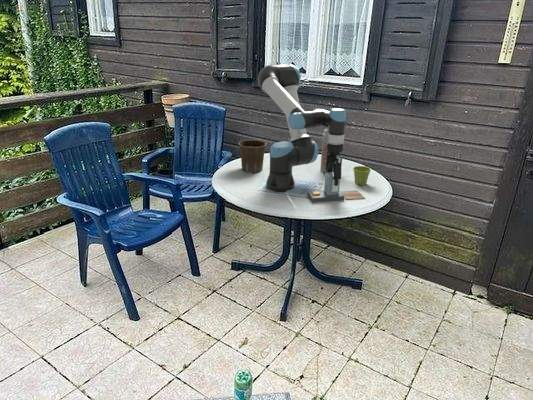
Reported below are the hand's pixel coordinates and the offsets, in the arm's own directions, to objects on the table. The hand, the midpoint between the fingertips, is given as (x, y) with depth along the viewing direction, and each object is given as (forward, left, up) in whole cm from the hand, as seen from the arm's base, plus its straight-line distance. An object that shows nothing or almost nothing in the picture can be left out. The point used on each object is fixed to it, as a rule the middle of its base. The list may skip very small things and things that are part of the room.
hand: (331, 188), depth 193 cm
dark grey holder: (0, -3, -6) cm, 6 cm away
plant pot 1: (-50, -31, -6) cm, 59 cm away
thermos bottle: (-40, +12, -6) cm, 42 cm away
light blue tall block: (0, 0, -5) cm, 5 cm away
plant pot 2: (-17, +23, -6) cm, 29 cm away
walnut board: (-1, +11, -6) cm, 12 cm away
